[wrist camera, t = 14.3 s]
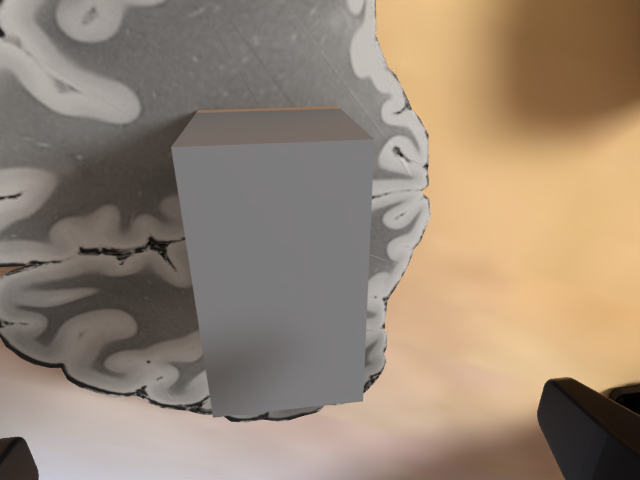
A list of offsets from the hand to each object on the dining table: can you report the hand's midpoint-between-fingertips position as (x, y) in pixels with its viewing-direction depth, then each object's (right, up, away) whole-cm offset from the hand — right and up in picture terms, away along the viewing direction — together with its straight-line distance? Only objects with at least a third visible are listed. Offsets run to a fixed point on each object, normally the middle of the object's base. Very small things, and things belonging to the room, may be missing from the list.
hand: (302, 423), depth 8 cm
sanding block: (-1, +4, +8) cm, 9 cm away
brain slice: (-4, +5, +11) cm, 13 cm away
